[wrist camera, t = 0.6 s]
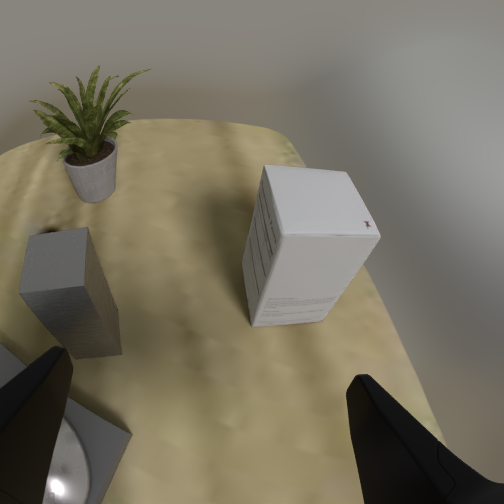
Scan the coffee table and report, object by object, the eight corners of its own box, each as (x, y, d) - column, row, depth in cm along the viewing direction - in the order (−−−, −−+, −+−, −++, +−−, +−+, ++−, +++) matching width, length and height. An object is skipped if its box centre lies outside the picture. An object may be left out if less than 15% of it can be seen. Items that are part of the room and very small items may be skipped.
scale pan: (68, 548, 10) (62, 551, 9) (-32, 464, 10) (-40, 463, 9) (113, 445, 17) (108, 444, 16) (10, 372, 17) (3, 367, 17)
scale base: (78, 557, 10) (53, 573, 6) (-50, 446, 11) (-83, 435, 7) (132, 434, 19) (115, 427, 15) (0, 342, 20) (-28, 316, 16)
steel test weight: (122, 354, 23) (84, 285, 15) (75, 359, 22) (18, 293, 14) (117, 309, 26) (87, 227, 18) (74, 314, 24) (29, 236, 16)
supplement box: (306, 263, 33) (349, 170, 24) (322, 323, 29) (385, 237, 19) (239, 263, 32) (262, 161, 22) (248, 328, 27) (282, 234, 18)
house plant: (126, 145, 42) (123, 46, 30) (174, 188, 37) (178, 65, 25) (44, 181, 35) (21, 77, 22) (74, 239, 30) (36, 106, 17)
